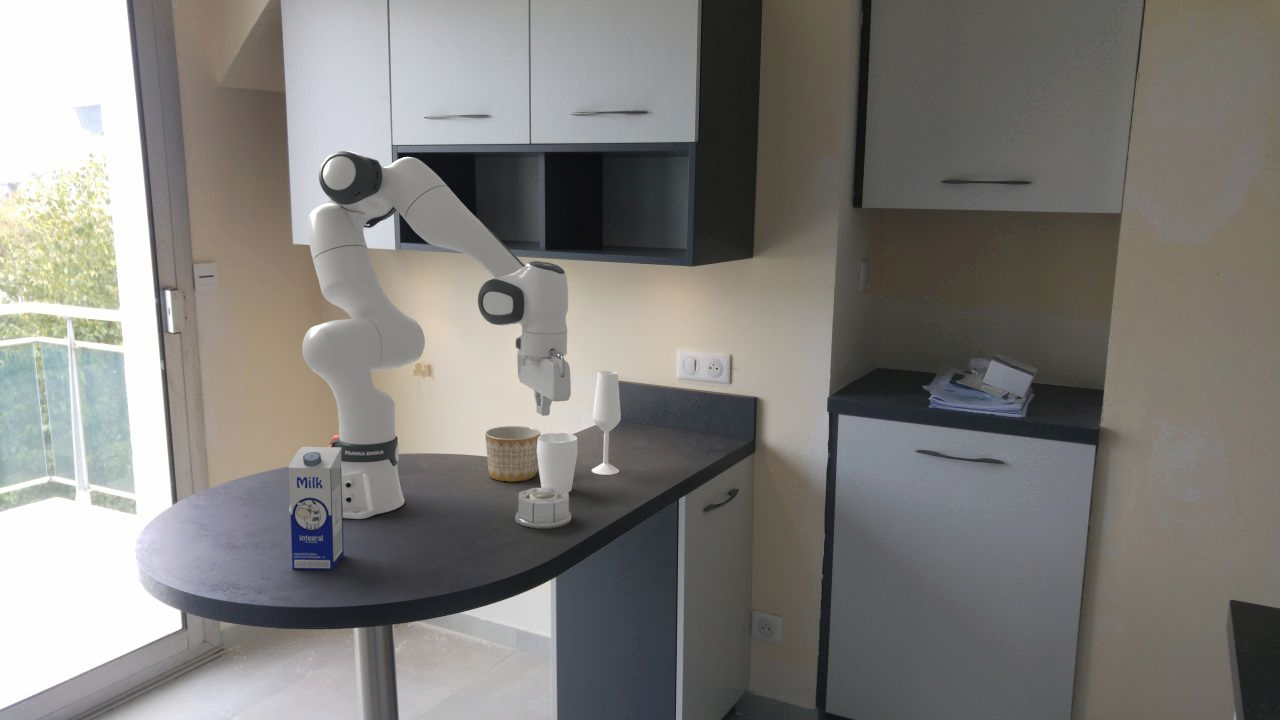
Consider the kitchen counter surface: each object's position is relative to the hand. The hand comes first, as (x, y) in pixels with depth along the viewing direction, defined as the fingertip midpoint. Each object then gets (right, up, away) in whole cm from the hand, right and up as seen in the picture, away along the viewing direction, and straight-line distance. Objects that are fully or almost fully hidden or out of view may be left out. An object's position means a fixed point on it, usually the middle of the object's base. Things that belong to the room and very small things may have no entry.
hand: (542, 414), depth 180 cm
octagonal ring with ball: (0, -21, +3) cm, 22 cm away
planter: (-10, -17, +31) cm, 37 cm away
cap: (0, -20, +2) cm, 21 cm away
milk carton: (-37, -25, -22) cm, 50 cm away
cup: (+1, -18, +22) cm, 28 cm away
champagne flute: (+11, -16, +38) cm, 42 cm away
